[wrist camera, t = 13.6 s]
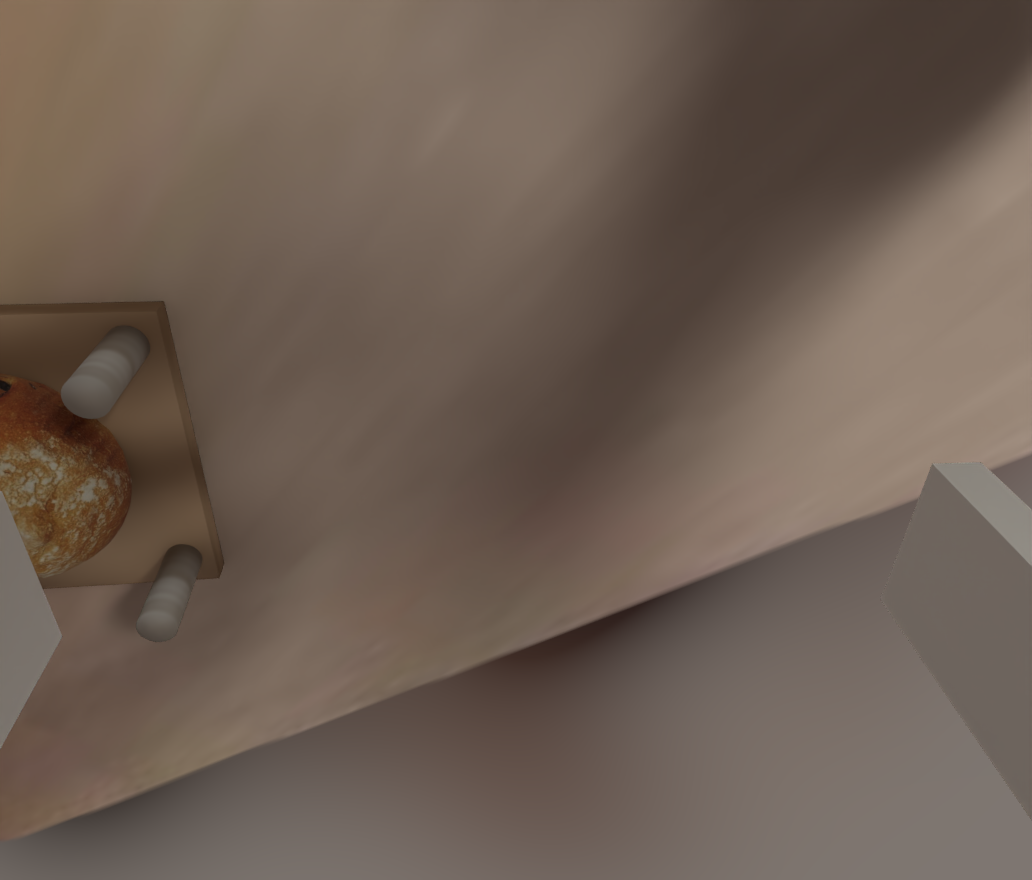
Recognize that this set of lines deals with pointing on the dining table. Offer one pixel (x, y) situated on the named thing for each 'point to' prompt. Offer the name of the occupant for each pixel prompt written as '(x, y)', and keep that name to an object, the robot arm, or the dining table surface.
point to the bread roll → (59, 477)
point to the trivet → (127, 442)
